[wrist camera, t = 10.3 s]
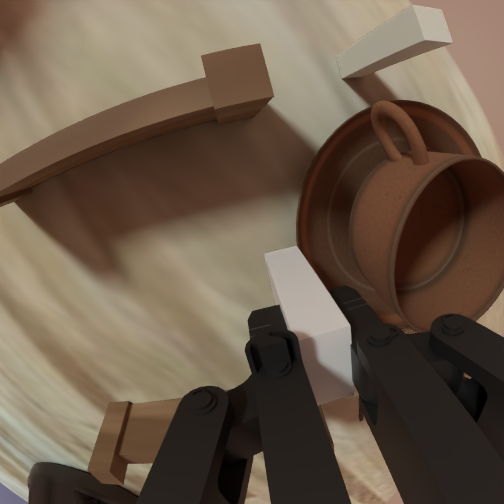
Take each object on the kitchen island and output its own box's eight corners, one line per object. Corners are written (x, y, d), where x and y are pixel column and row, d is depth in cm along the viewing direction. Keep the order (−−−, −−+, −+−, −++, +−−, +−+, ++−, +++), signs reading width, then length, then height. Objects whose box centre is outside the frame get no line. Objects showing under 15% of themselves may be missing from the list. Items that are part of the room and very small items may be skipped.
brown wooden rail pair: (310, 385, 18) (334, 458, 13) (120, 417, 18) (101, 483, 13) (245, 84, 13) (259, 43, 7) (6, 175, 13) (-69, 196, 7)
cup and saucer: (237, 235, 15) (245, 292, 9) (383, 59, 13) (457, 29, 7) (385, 344, 18) (430, 407, 12) (493, 205, 16) (561, 232, 10)
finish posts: (391, 367, 19) (437, 439, 12) (375, 373, 19) (419, 448, 12) (357, 55, 12) (441, 9, 6) (335, 56, 12) (412, 4, 6)
